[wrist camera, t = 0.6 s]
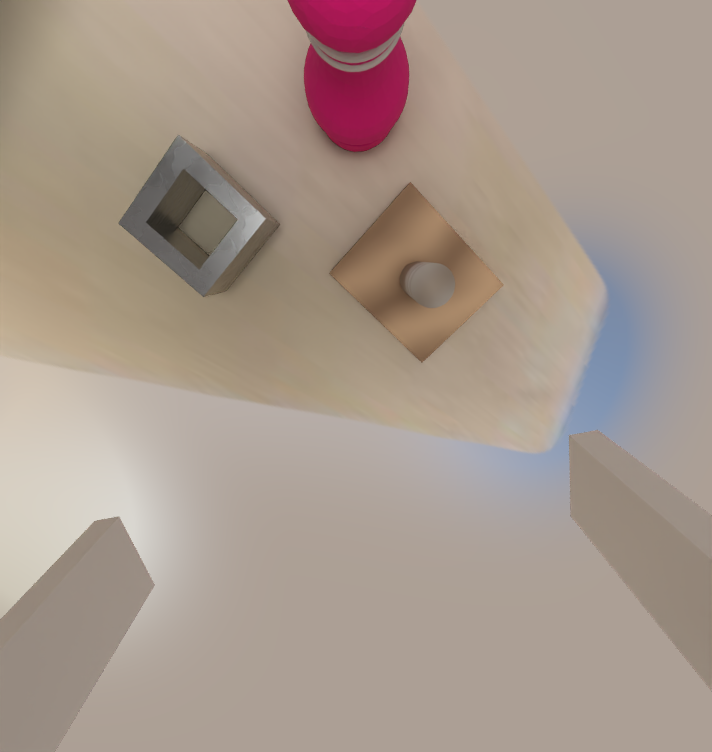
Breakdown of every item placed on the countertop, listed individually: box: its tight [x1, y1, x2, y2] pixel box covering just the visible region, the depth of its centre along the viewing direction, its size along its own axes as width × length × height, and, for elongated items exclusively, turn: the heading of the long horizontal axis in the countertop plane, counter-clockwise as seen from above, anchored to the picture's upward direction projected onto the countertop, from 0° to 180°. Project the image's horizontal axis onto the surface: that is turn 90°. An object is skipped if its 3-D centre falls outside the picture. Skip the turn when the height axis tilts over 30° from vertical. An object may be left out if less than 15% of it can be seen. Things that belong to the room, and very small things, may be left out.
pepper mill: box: [288, 0, 416, 152], centre depth 20 cm, size 7×7×20 cm
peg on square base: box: [330, 182, 503, 362], centre depth 29 cm, size 12×10×9 cm
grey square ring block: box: [119, 135, 280, 297], centre depth 30 cm, size 8×8×5 cm
